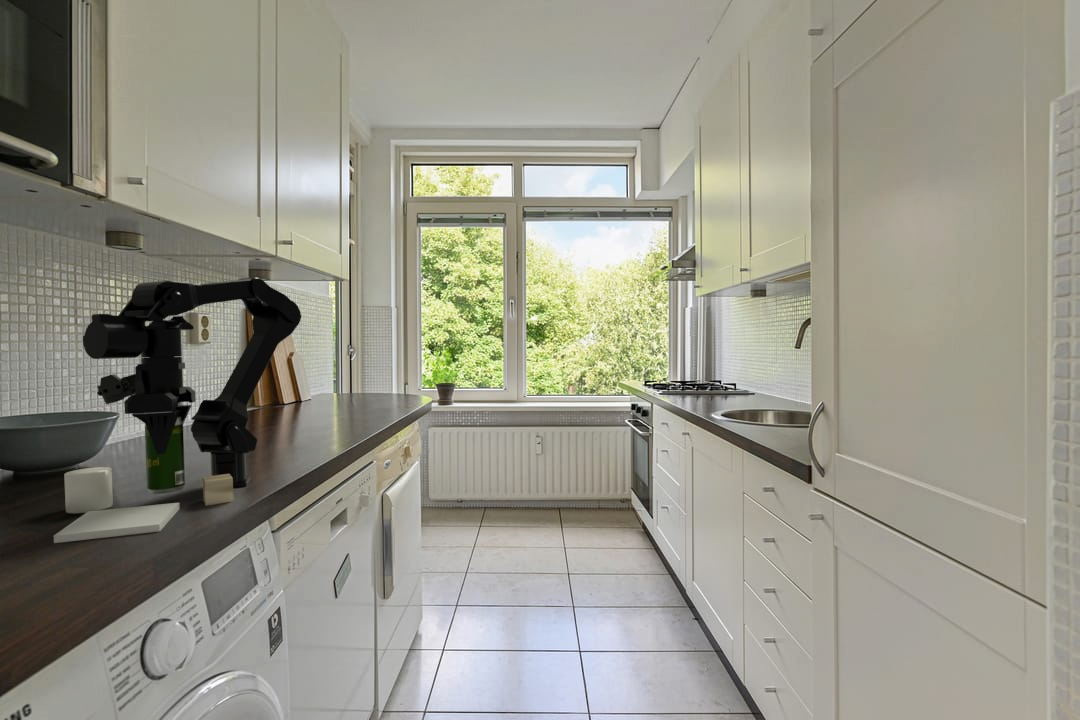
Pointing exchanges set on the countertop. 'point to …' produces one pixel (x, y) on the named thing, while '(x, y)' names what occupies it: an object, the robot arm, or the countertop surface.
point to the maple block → (217, 489)
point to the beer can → (166, 463)
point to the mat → (118, 522)
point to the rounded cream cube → (88, 489)
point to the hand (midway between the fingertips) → (165, 450)
